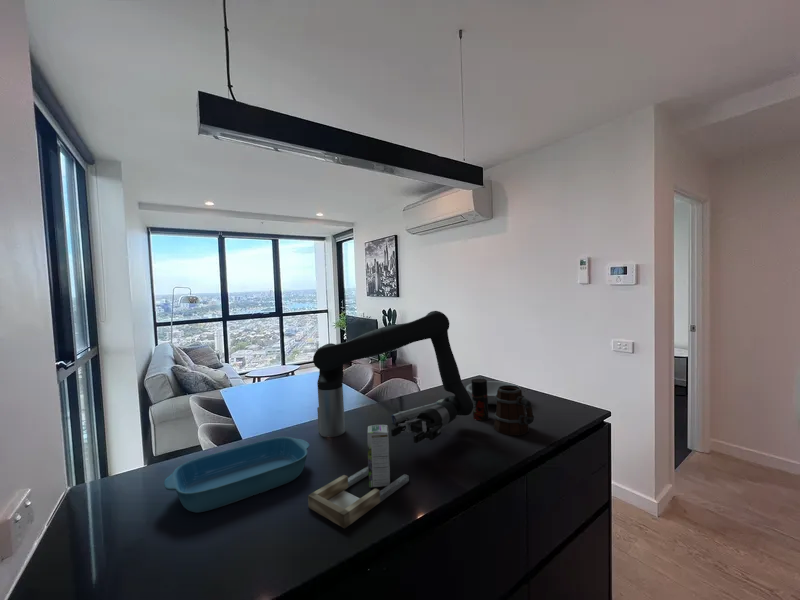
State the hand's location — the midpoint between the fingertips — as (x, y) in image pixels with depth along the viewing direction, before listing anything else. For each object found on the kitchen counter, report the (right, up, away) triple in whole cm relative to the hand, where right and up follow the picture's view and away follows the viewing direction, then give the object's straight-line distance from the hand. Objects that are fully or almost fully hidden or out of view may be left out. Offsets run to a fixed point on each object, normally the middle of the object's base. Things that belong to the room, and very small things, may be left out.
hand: (403, 436), depth 102 cm
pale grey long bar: (+8, -8, +38) cm, 39 cm away
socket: (-15, -10, -18) cm, 25 cm away
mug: (+40, -6, +21) cm, 46 cm away
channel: (-7, -9, -9) cm, 15 cm away
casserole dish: (-44, -11, -6) cm, 46 cm away
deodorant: (+31, -7, +35) cm, 47 cm away
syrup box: (-6, -9, -8) cm, 14 cm away
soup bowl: (+41, -6, +53) cm, 68 cm away
